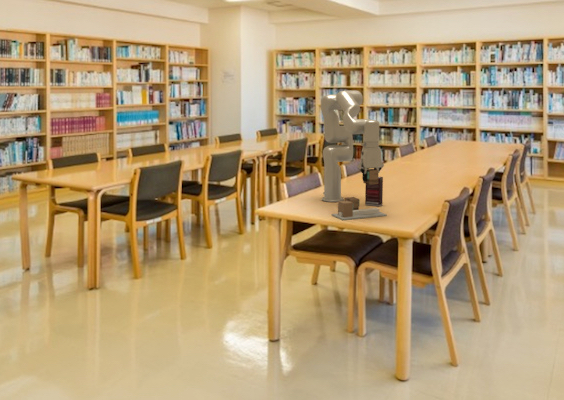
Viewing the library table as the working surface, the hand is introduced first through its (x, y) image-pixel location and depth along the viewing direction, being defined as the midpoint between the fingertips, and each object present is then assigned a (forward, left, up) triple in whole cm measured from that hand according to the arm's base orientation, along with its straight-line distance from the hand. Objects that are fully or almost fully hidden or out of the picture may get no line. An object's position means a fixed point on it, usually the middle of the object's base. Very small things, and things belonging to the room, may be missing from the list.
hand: (370, 180), depth 294 cm
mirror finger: (-11, -4, -18) cm, 21 cm away
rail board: (0, -6, -18) cm, 19 cm away
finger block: (0, 0, -2) cm, 2 cm away
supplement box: (-20, +15, -18) cm, 31 cm away
